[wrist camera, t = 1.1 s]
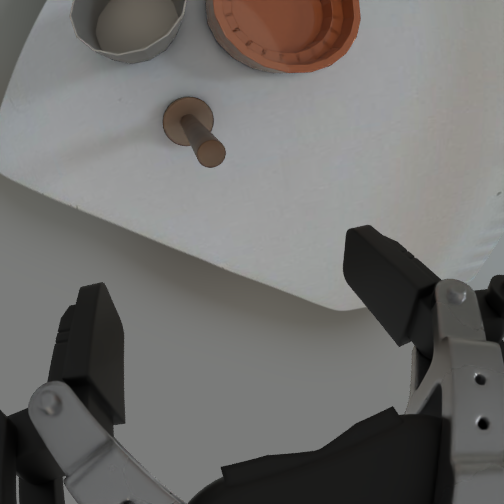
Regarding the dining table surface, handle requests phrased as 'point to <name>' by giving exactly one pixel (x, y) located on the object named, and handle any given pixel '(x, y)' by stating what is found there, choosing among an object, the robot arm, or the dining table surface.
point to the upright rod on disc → (194, 129)
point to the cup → (127, 26)
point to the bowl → (284, 32)
